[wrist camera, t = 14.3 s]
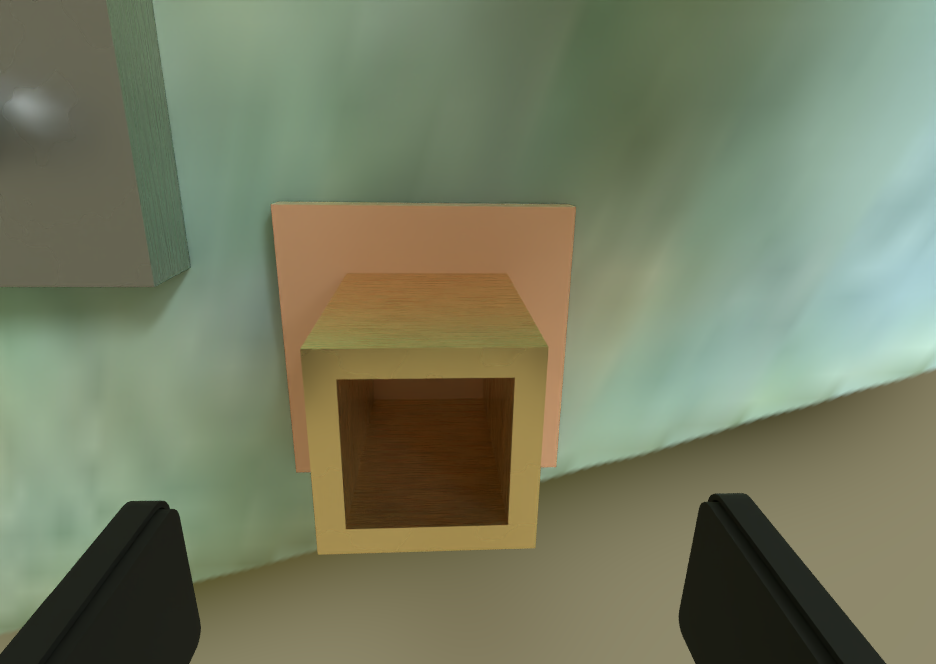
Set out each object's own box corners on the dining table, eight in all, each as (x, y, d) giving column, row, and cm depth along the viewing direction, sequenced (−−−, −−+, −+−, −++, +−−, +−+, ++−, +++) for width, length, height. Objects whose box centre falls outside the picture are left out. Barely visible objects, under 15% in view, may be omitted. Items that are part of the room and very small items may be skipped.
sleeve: (507, 273, 21) (548, 347, 14) (501, 415, 23) (535, 548, 16) (347, 273, 21) (299, 349, 13) (354, 417, 23) (317, 554, 15)
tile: (569, 204, 22) (575, 207, 21) (551, 454, 25) (555, 466, 24) (277, 201, 21) (270, 204, 20) (301, 459, 25) (296, 472, 24)
